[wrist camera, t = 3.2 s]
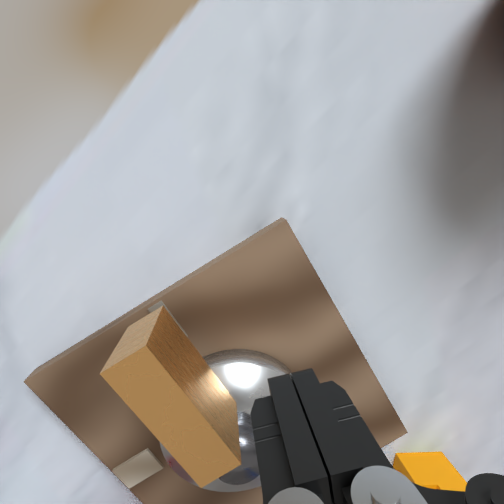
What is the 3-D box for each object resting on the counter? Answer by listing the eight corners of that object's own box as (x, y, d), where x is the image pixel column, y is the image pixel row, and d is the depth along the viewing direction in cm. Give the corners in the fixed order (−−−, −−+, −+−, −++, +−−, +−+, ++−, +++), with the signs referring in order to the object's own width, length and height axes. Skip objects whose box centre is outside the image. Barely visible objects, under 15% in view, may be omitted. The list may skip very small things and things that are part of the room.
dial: (326, 423, 23) (365, 511, 17) (214, 490, 23) (212, 599, 17) (219, 262, 19) (220, 300, 13) (86, 343, 20) (27, 418, 13)
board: (396, 418, 26) (409, 434, 24) (196, 536, 26) (195, 559, 25) (281, 217, 21) (286, 220, 19) (36, 368, 21) (21, 383, 20)
